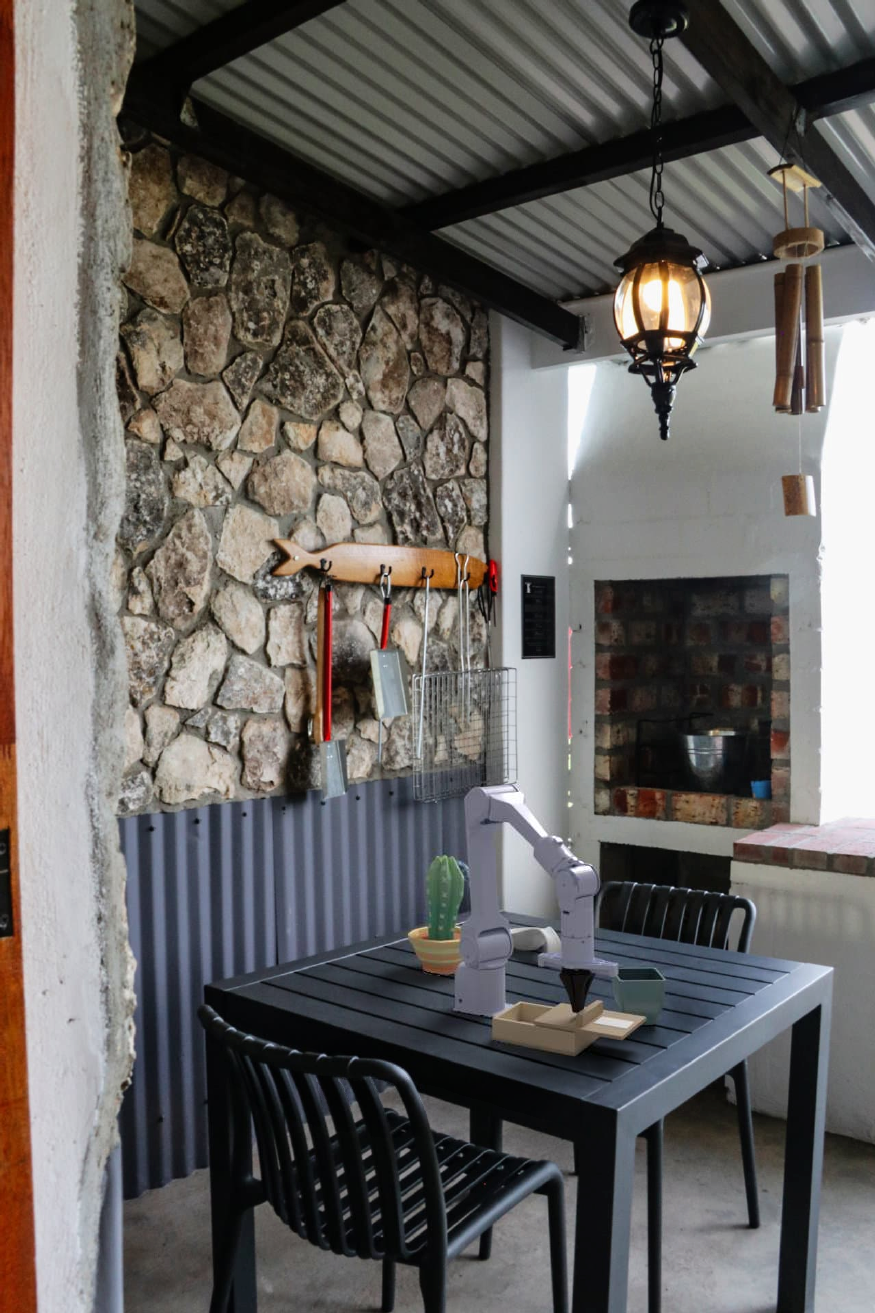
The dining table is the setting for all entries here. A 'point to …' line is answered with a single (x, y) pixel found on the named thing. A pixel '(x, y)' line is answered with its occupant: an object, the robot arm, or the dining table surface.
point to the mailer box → (537, 1031)
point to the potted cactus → (441, 916)
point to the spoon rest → (536, 939)
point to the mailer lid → (591, 1020)
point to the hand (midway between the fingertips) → (578, 1011)
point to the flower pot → (639, 992)
